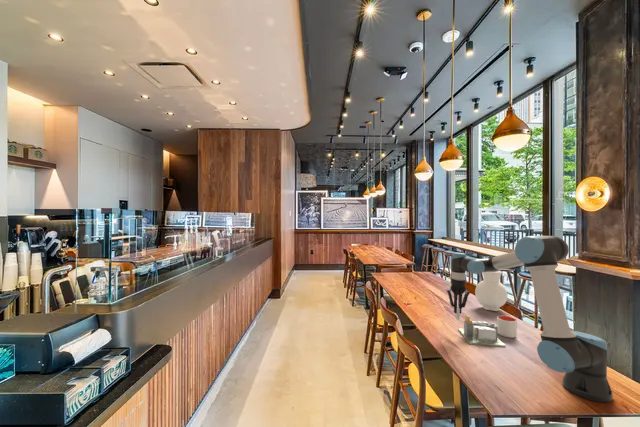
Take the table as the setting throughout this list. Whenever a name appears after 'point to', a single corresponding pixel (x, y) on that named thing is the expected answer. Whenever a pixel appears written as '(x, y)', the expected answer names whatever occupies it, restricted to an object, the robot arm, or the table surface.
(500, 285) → the vase
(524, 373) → the table surface
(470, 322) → the clip
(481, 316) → the table surface
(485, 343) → the grey table caddy
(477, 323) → the strap
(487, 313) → the table surface
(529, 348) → the table surface
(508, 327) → the cup
